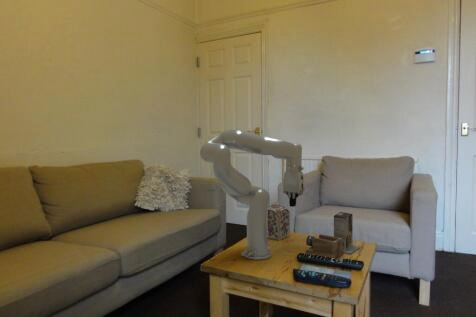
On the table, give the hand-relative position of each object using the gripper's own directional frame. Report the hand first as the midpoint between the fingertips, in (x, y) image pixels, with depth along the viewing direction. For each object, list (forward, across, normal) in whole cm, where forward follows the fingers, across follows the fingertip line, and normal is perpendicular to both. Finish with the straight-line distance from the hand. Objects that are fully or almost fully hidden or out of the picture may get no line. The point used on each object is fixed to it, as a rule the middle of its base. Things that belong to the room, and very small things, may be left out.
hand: (292, 206), depth 171 cm
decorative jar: (+20, +16, -10) cm, 27 cm away
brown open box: (+20, -18, -1) cm, 27 cm away
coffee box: (+19, -21, -13) cm, 31 cm away
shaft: (+18, -16, -1) cm, 24 cm away
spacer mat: (+20, -21, -13) cm, 31 cm away
